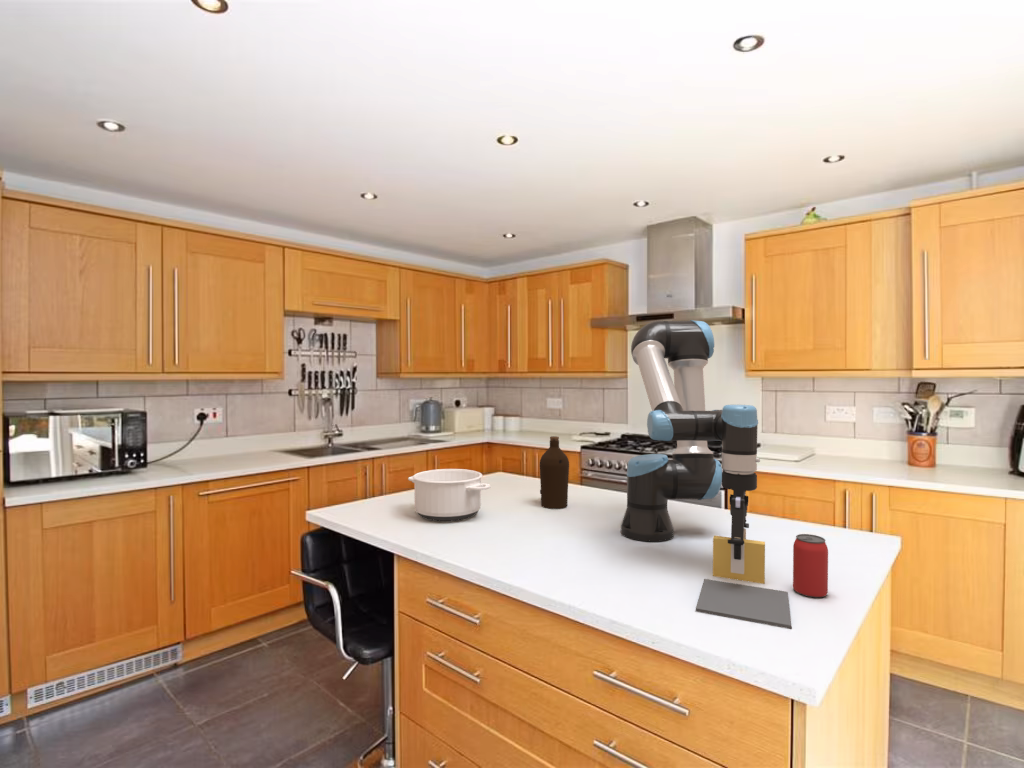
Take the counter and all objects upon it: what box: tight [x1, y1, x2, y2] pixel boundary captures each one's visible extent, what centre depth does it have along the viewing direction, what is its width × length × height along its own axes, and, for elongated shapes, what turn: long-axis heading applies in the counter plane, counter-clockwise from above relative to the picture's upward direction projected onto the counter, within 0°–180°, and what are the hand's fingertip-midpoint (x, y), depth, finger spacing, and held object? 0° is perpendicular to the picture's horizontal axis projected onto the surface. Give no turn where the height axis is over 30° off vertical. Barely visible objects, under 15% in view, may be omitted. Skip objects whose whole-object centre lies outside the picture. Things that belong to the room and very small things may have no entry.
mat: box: [695, 578, 793, 630], centre depth 110 cm, size 17×17×1 cm
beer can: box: [792, 533, 829, 599], centre depth 115 cm, size 7×7×12 cm
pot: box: [407, 468, 491, 523], centre depth 178 cm, size 33×23×14 cm
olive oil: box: [539, 435, 570, 510], centre depth 191 cm, size 11×11×25 cm
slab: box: [712, 535, 766, 585], centre depth 123 cm, size 11×2×9 cm, turn 65°
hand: (738, 563), depth 123 cm, fingers open, 12 cm apart
